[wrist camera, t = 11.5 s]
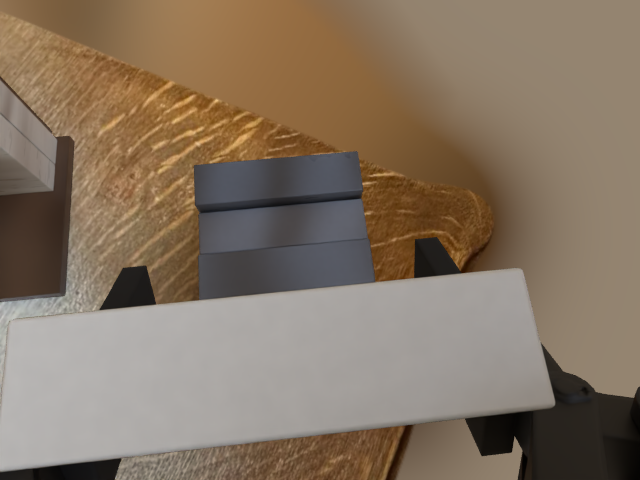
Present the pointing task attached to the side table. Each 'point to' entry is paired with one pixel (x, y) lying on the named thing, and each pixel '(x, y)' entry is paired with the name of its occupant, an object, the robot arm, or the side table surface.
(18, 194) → the beige and brown bookend
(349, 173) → the grey rack
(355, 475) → the side table surface
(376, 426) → the white book
